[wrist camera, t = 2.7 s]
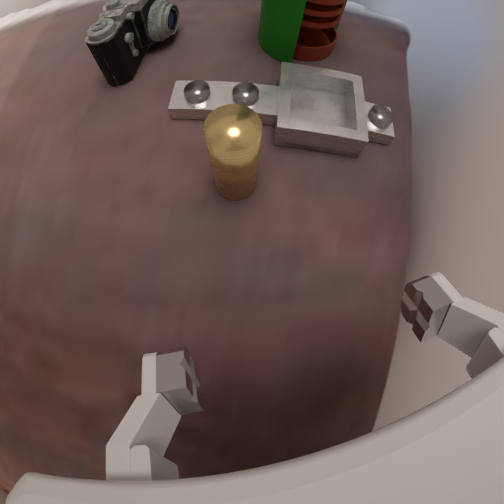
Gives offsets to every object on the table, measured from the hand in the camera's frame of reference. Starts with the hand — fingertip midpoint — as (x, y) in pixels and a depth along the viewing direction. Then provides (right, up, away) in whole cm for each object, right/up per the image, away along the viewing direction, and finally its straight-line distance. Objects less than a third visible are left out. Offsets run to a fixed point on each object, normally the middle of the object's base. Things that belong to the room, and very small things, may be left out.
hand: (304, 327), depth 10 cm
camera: (-14, +28, +19) cm, 36 cm away
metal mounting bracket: (+1, +16, +17) cm, 24 cm away
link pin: (-3, +9, +16) cm, 18 cm away
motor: (+3, +28, +19) cm, 34 cm away
